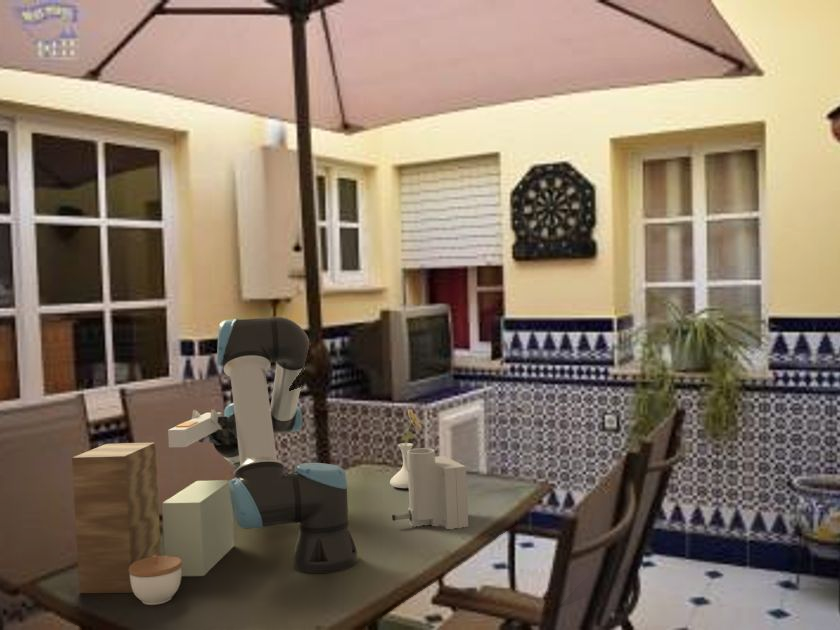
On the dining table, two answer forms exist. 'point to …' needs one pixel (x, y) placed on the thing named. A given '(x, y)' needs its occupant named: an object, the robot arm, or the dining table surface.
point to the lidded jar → (155, 578)
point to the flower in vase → (405, 454)
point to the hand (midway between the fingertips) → (203, 414)
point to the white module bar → (191, 431)
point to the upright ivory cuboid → (199, 525)
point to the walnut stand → (115, 514)
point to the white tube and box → (435, 491)
